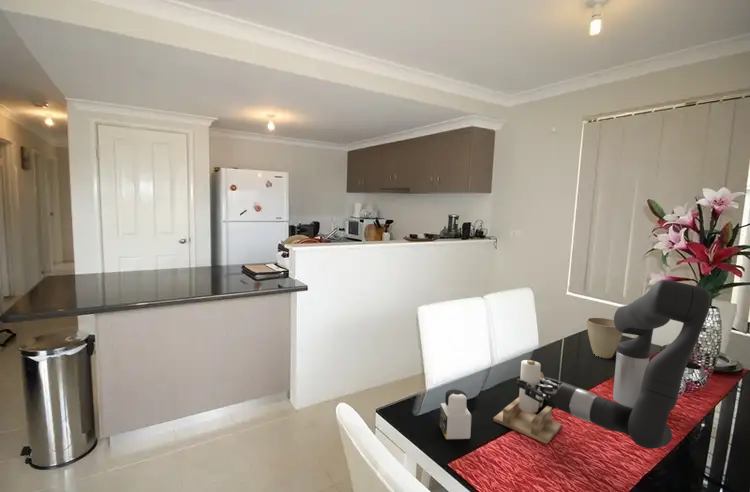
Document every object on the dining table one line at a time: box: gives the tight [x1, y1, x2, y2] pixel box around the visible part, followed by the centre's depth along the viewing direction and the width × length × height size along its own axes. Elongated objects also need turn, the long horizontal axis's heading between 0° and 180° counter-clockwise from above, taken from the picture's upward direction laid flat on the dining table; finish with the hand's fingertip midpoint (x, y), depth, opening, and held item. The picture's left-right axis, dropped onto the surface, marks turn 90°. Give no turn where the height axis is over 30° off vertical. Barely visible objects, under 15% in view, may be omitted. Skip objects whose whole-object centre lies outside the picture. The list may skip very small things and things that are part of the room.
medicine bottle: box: [439, 388, 472, 440], centre depth 109 cm, size 7×7×12 cm
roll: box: [518, 359, 542, 414], centre depth 113 cm, size 5×5×15 cm
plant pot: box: [586, 317, 624, 359], centre depth 174 cm, size 15×15×16 cm
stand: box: [492, 396, 562, 444], centre depth 115 cm, size 12×16×5 cm
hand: (522, 379), depth 115 cm, fingers closed on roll, 5 cm apart
